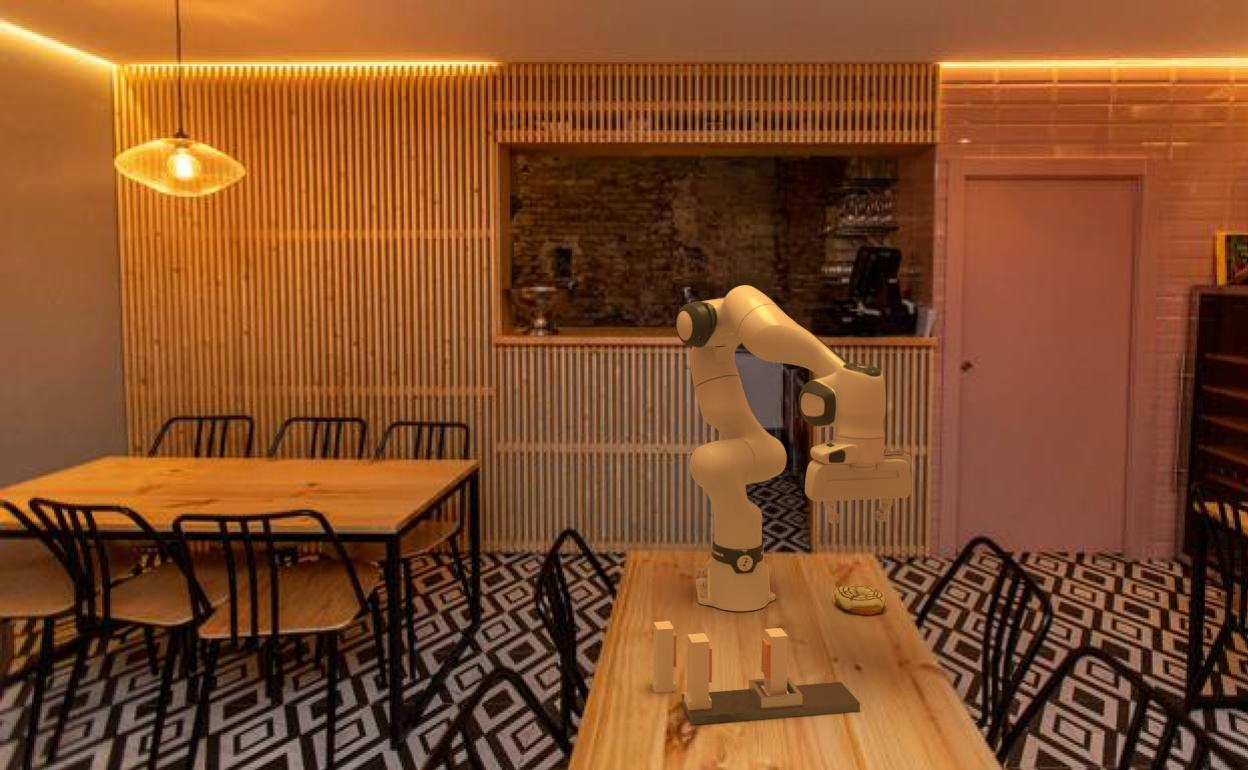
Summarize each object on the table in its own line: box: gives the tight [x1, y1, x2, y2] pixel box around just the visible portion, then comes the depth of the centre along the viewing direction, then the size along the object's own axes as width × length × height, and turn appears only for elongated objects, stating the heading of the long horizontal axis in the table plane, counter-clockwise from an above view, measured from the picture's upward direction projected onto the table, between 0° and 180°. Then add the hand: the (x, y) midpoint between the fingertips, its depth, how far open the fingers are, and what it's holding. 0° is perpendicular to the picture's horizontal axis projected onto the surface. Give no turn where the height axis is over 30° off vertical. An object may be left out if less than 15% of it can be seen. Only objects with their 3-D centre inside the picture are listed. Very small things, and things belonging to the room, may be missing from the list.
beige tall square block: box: [760, 627, 789, 696], centre depth 146 cm, size 4×4×12 cm
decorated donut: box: [833, 584, 886, 616], centre depth 193 cm, size 11×12×4 cm
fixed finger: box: [683, 632, 713, 710], centre depth 144 cm, size 4×4×12 cm
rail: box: [680, 676, 861, 726], centre depth 147 cm, size 8×30×4 cm, turn 99°
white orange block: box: [650, 620, 678, 694], centre depth 153 cm, size 4×4×12 cm
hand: (857, 521), depth 159 cm, fingers open, 8 cm apart
